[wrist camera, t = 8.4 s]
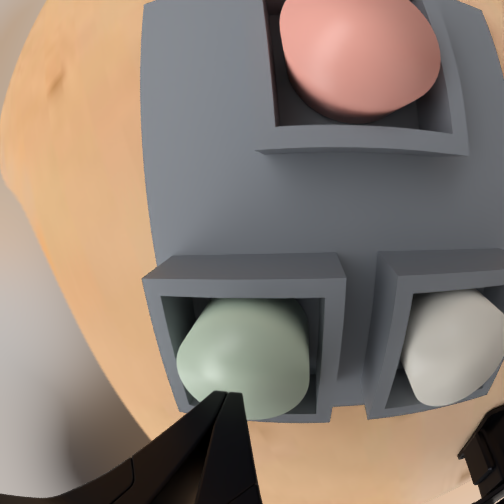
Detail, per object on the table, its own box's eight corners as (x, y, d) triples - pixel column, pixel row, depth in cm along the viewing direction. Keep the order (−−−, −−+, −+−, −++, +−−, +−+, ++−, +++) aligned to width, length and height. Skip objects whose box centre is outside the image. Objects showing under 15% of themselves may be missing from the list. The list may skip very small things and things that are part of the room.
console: (472, 17, 6) (505, -8, 3) (462, 376, 12) (483, 415, 8) (153, 12, 9) (115, -18, 6) (194, 387, 15) (173, 431, 11)
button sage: (309, 280, 10) (312, 322, 7) (307, 371, 11) (306, 421, 9) (196, 281, 11) (164, 318, 8) (211, 367, 12) (190, 412, 9)
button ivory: (484, 272, 9) (522, 301, 6) (461, 355, 10) (485, 393, 7) (400, 277, 10) (430, 315, 7) (384, 366, 11) (399, 414, 8)
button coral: (393, 24, 7) (419, -13, 4) (412, 127, 8) (452, 115, 5) (279, 19, 7) (271, -26, 5) (291, 124, 9) (288, 105, 6)
